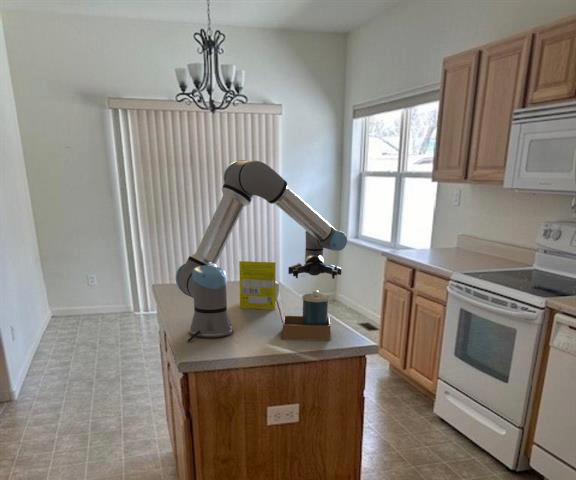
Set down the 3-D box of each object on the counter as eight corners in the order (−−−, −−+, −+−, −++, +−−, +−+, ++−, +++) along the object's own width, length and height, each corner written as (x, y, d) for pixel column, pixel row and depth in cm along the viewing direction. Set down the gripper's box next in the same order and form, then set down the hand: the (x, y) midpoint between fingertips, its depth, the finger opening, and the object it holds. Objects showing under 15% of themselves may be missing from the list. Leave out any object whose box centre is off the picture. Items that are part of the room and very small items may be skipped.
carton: (282, 339, 189) (282, 324, 187) (283, 329, 201) (284, 315, 199) (329, 340, 189) (330, 326, 187) (328, 330, 201) (329, 316, 199)
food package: (275, 309, 230) (275, 262, 223) (274, 309, 229) (275, 262, 222) (240, 307, 232) (239, 260, 224) (239, 308, 231) (239, 261, 223)
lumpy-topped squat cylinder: (280, 299, 246) (280, 281, 243) (252, 300, 243) (252, 281, 240) (275, 294, 256) (275, 276, 253) (248, 295, 253) (248, 277, 250)
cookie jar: (316, 339, 189) (318, 294, 183) (295, 334, 194) (296, 290, 188) (332, 334, 195) (334, 290, 189) (312, 328, 201) (313, 286, 195)
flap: (283, 322, 187) (282, 323, 187) (284, 313, 199) (283, 314, 199) (277, 300, 184) (276, 300, 184) (279, 292, 196) (278, 292, 196)
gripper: (344, 274, 217) (348, 285, 198) (283, 273, 218) (281, 284, 198) (345, 255, 214) (349, 264, 195) (283, 254, 215) (281, 264, 195)
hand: (315, 274), depth 196 cm, fingers open, 13 cm apart
